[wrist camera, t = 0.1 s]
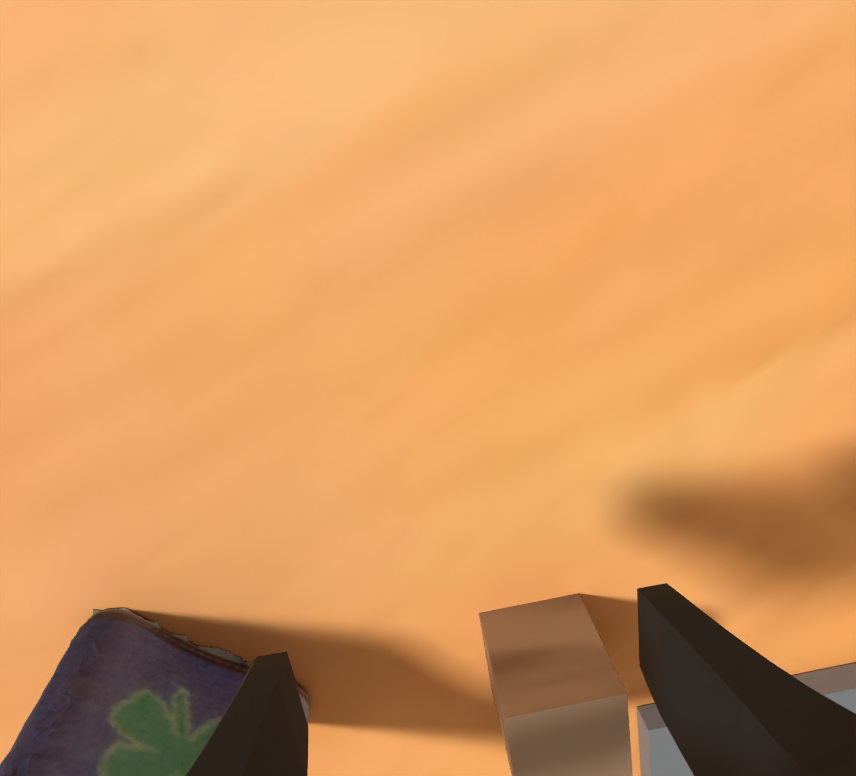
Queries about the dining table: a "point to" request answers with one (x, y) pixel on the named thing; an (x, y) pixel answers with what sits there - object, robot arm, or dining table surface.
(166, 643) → the flask
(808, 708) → the robot arm
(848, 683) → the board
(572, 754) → the brown wooden block
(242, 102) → the dining table surface
